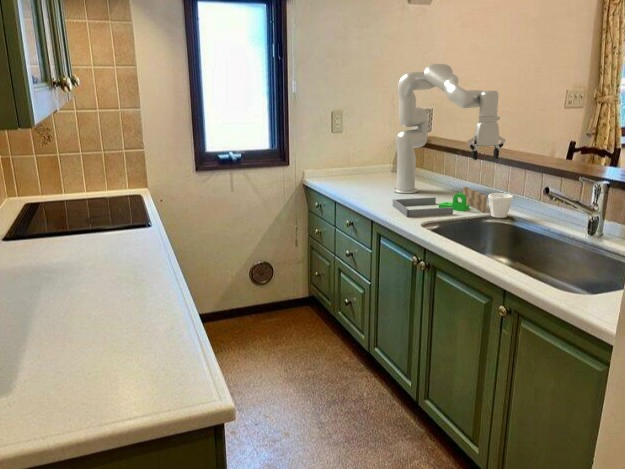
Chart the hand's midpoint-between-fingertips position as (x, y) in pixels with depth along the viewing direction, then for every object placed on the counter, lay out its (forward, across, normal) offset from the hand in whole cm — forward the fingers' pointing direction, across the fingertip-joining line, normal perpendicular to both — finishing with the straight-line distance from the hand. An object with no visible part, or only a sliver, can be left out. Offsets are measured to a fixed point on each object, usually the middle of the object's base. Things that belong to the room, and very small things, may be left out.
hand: (485, 159), depth 235 cm
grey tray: (+22, +28, -1) cm, 35 cm away
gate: (+22, +4, -1) cm, 22 cm away
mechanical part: (+22, +13, 0) cm, 26 cm away
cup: (+22, 0, +17) cm, 28 cm away
